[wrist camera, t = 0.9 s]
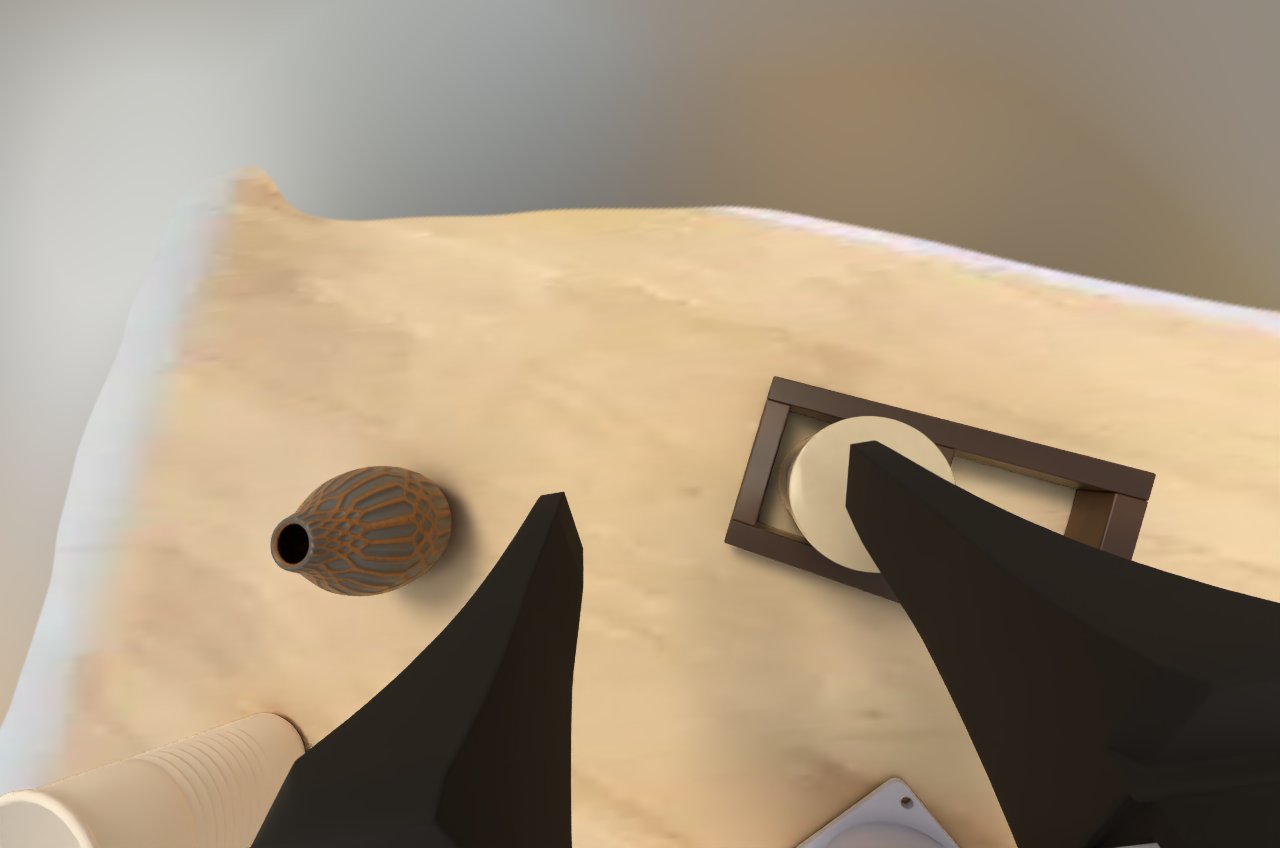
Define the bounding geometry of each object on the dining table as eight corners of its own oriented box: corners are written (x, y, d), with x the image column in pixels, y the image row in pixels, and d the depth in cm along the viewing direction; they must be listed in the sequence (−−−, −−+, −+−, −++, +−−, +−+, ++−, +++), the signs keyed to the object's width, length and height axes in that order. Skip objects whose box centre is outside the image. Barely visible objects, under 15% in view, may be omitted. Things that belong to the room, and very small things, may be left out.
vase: (365, 483, 31) (219, 490, 22) (456, 452, 30) (338, 447, 21) (386, 588, 30) (242, 639, 21) (482, 561, 29) (370, 603, 20)
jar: (911, 490, 24) (996, 503, 16) (826, 559, 24) (865, 605, 16) (833, 409, 25) (874, 384, 17) (753, 477, 26) (757, 484, 18)
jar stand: (1062, 650, 22) (1100, 672, 20) (726, 535, 26) (724, 542, 23) (1113, 472, 22) (1157, 473, 20) (771, 383, 26) (773, 375, 23)
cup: (257, 873, 30) (-11, 1098, 19) (190, 735, 32) (-87, 871, 21) (363, 785, 29) (139, 974, 18) (286, 648, 31) (45, 746, 20)
